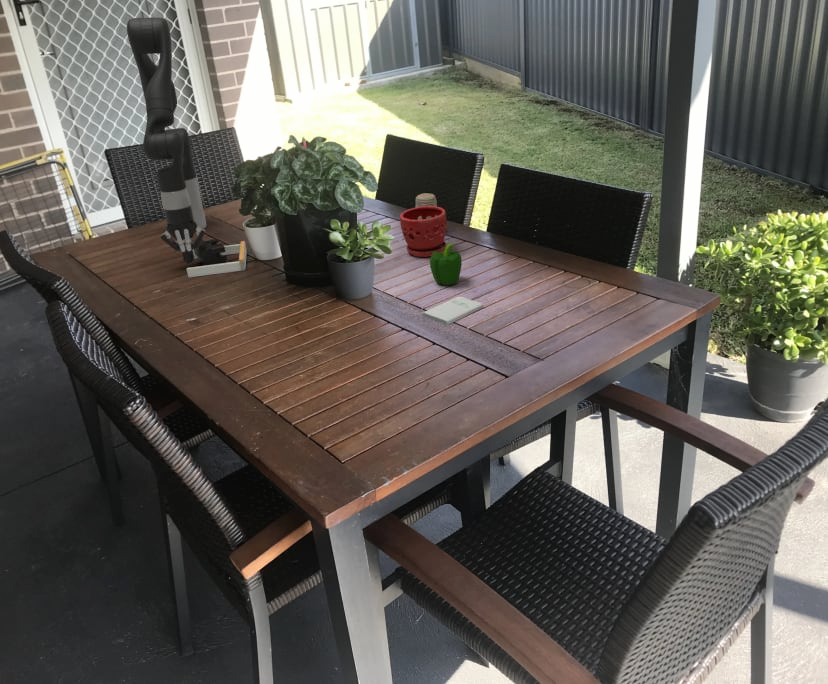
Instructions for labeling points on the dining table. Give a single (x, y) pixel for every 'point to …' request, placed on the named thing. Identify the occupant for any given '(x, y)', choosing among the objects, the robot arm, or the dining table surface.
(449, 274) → the bell pepper
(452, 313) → the external hard drive
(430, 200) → the carving
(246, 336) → the dining table surface
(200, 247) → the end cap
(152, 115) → the robot arm
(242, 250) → the frame
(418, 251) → the plant pot
